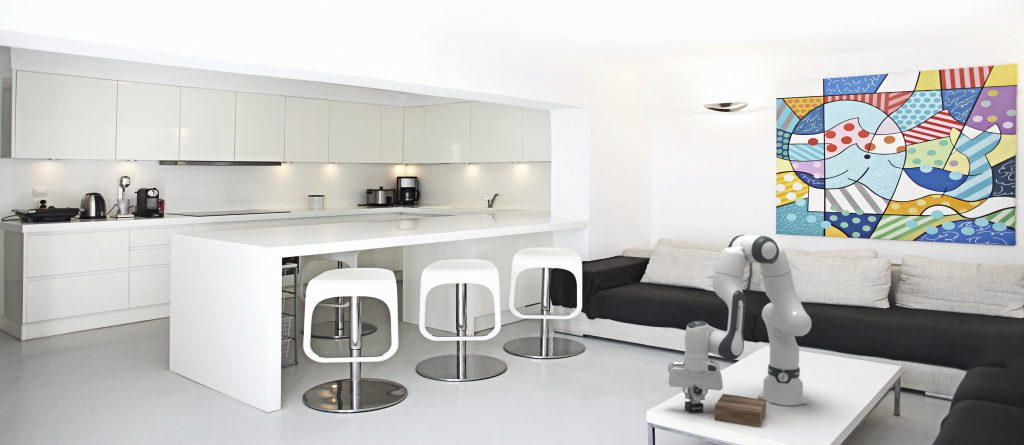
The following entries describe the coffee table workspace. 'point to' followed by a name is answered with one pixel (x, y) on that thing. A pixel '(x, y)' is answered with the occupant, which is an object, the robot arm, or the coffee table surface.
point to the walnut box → (740, 410)
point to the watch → (694, 399)
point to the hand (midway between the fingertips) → (694, 399)
